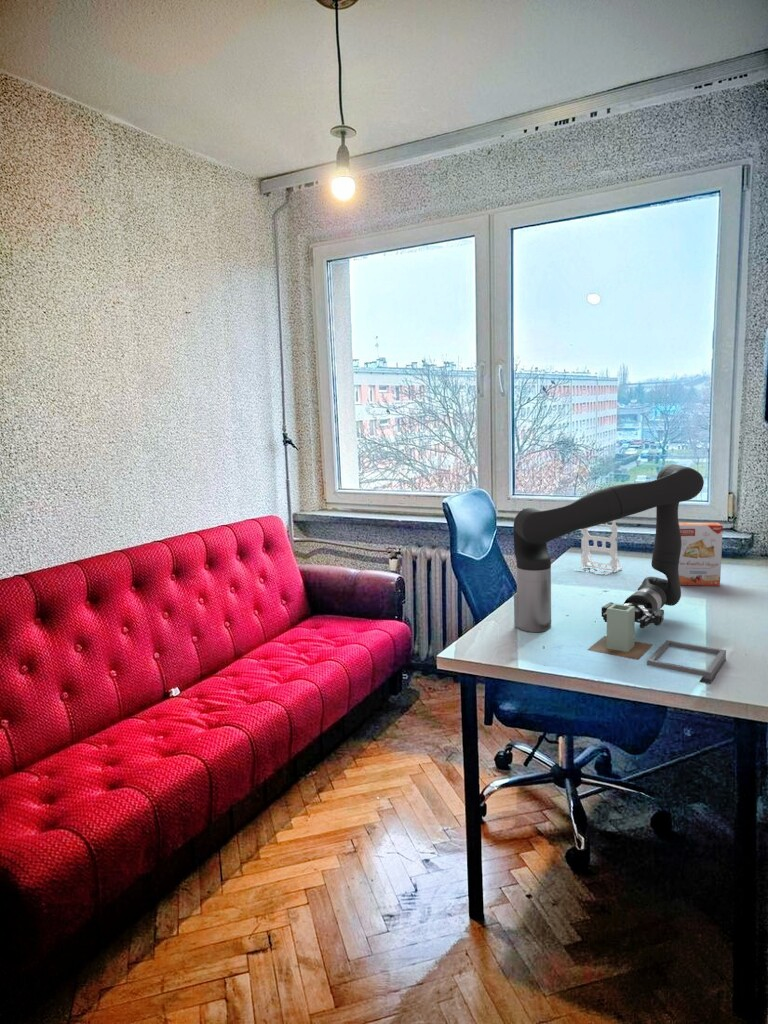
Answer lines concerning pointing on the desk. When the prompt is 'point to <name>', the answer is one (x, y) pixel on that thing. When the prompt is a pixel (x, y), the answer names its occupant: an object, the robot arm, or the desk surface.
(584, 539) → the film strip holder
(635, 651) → the board
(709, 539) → the cracker box
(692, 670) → the grey tray
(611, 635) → the sleeve
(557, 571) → the desk surface
